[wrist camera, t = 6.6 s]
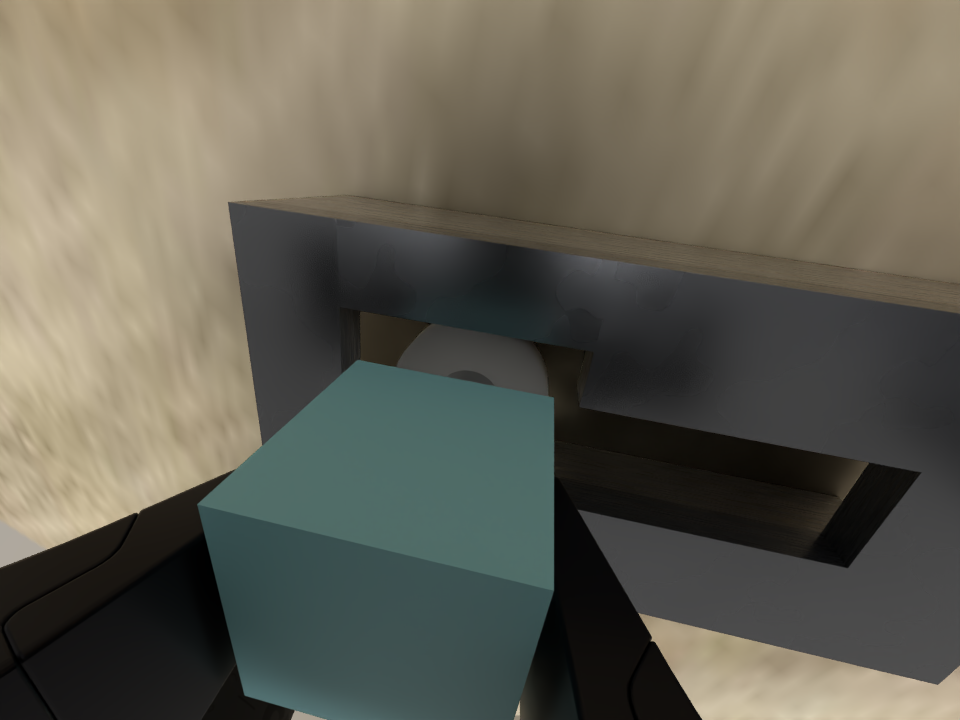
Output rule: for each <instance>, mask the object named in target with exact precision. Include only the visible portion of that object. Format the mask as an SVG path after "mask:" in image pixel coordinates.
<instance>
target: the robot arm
mask: <svg viewBox="0 0 960 720" xmlns="http://www.w3.org/2000/svg"><path fill="white" fill-rule="evenodd" d="M235 470H236V469H235ZM235 470H232V471H230V472H228V473H226V474H223V475H221V476H219V477H216V478H214V479H212V480H210V481H207V482H205V483H203V484H200V485H198V486H196V487H193V488H191V489H189V490H187V491H184V492H182V493H180V494H177V495H175V496H173V497H170V498H168V499H166V500H164V501H161V502H159V503H157V504H154V505H152V506H150V507H148V508H145V509H143V510H141V511H140V513H139V514H138V513H133V514H131V515H129V516H127V517H124V518H122V519H120V520H117V521H115V522H113V523H111V524H108V525H106V526H104V527H101V528H99V529H96V530H94V531H92V532H89V533H87V534H84V535H82V536H80V537H77V538H75V539H73V540H70V541H68V542H65V543H63V544H60V545H58V546H55V547H53V548H50V549H48V550H45V551H43V552H40V553H37V554H35V555H32V556H30V557H27V558H25V559H22V560H19V561H17V562H14V563H12V564H9V565H6V566H4V567H1V568H0V720H201V719H202V717H203V716H204V714H205V713H206V711H207V709H208V708H209V706H210V705H211V703H212V701H213V700H214V698H215V697H216V695H217V694H218V692H219V690H220V689H221V687H222V686H223V684H224V682H225V681H226V679H227V678H228V676H229V674H230V673H231V671H232V670H233V668H234V667H235V665H236V659H235V655H234V651H233V647H232V643H231V639H230V635H229V631H228V627H227V623H226V619H225V615H224V610H223V606H222V602H221V598H220V594H219V590H218V586H217V582H216V578H215V574H214V570H213V566H212V562H211V558H210V554H209V550H208V546H207V542H206V538H205V534H204V530H203V526H202V522H201V518H200V514H199V510H198V506H197V504H198V503H199V502H200V501H202V500H203V499H204V498H205V497H206V496H207V495H208V494H209V493H210V492H211V491H213V490H214V489H215V488H216V487H217V486H218V485H219V484H220V483H221V482H223V481H224V480H225V479H226V478H227V477H228V476H229V475H230V474H231V473H233V472H234V471H235ZM651 639H652V637H651V635H650V633H649V631H648V630H647V628H646V626H645V624H644V623H643V621H642V619H641V618H640V616H639V614H638V612H637V611H636V609H635V607H634V606H633V604H632V602H631V600H630V599H629V597H628V595H627V594H626V592H625V590H624V588H623V587H622V585H621V583H620V582H619V580H618V578H617V576H616V575H615V573H614V571H613V569H612V568H611V566H610V564H609V563H608V561H607V559H606V557H605V556H604V554H603V552H602V551H601V549H600V547H599V545H598V544H597V542H596V540H595V539H594V537H593V535H592V533H591V532H590V530H589V528H588V527H587V525H586V523H585V521H584V520H583V518H582V516H581V515H580V513H579V511H578V509H577V508H576V506H575V504H574V503H573V501H572V499H571V497H570V496H569V494H568V492H567V491H566V489H565V487H564V485H563V484H562V482H561V480H560V479H559V478H558V477H556V476H554V592H553V595H552V598H551V602H550V605H549V608H548V611H547V614H546V618H545V621H544V624H543V627H542V631H541V634H540V637H539V640H538V643H537V647H536V650H535V653H534V656H533V659H532V663H531V666H530V669H529V672H528V676H527V679H526V682H525V685H524V688H523V692H522V695H521V698H520V720H702V719H701V717H700V716H699V714H698V713H697V711H696V710H695V708H694V706H693V705H692V703H691V701H690V700H689V698H688V696H687V695H686V693H685V692H684V690H683V688H682V687H681V685H680V683H679V682H678V680H677V678H676V677H675V675H674V674H673V672H672V670H671V669H670V667H669V665H668V664H667V662H666V660H665V658H664V657H663V655H662V653H661V652H660V650H659V648H658V646H657V645H656V643H655V642H653V641H651Z"/></svg>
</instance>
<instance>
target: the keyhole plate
mask: <svg viewBox="0 0 960 720" xmlns="http://www.w3.org/2000/svg"><path fill="white" fill-rule="evenodd" d="M228 205H229V212H230V219H231V226H232V233H233V241H234V248H235V255H236V262H237V269H238V276H239V283H240V290H241V297H242V304H243V311H244V318H245V325H246V332H247V339H248V347H249V354H250V361H251V368H252V375H253V382H254V389H255V396H256V403H257V410H258V417H259V424H260V431H261V438H262V446H263V445H264V444H265V443H266V442H267V441H268V440H269V439H270V438H271V437H272V436H274V435H275V434H276V433H277V432H278V431H279V430H280V429H281V428H282V427H284V426H285V425H286V424H287V423H288V422H289V421H290V420H291V419H292V418H294V417H295V416H296V415H297V414H298V413H299V412H300V411H301V410H302V409H304V408H305V407H306V406H307V405H308V404H309V403H310V402H311V401H312V400H314V399H315V398H316V397H317V396H318V395H319V394H320V393H321V392H322V391H324V390H325V389H326V388H327V387H328V386H329V385H330V384H331V383H332V382H333V381H335V380H336V379H337V378H338V377H339V376H340V375H341V374H342V373H343V372H345V371H346V370H347V369H348V368H349V367H350V366H351V365H352V364H353V363H355V362H356V361H357V360H360V311H364V312H370V313H375V314H381V315H387V316H392V317H398V318H404V319H409V320H415V321H421V322H427V323H432V324H438V325H444V326H449V327H455V328H461V329H466V330H472V331H478V332H483V333H489V334H495V335H500V336H506V337H512V338H517V339H523V340H529V341H534V342H540V343H546V344H551V345H557V346H563V347H568V348H574V349H580V350H585V351H586V352H585V356H584V360H583V364H582V367H581V371H580V375H579V379H578V383H577V391H578V400H579V407H581V408H586V409H592V410H597V411H602V412H607V413H613V414H618V415H623V416H628V417H634V418H639V419H644V420H649V421H654V422H660V423H665V424H670V425H675V426H681V427H686V428H691V429H696V430H702V431H707V432H712V433H717V434H723V435H728V436H733V437H738V438H743V439H749V440H754V441H759V442H764V443H770V444H775V445H780V446H785V447H791V448H796V449H801V450H806V451H812V452H817V453H822V454H827V455H832V456H838V457H843V458H848V459H853V460H859V461H864V462H869V464H868V465H867V467H866V468H865V470H864V471H863V473H862V474H861V476H860V477H859V479H858V480H857V481H856V483H855V484H854V486H853V487H852V489H851V490H850V492H849V493H848V495H847V496H846V497H845V499H844V500H843V501H842V500H841V499H840V498H839V497H835V496H830V495H825V494H820V493H815V492H810V491H805V490H800V489H795V488H790V487H785V486H780V485H775V484H771V483H766V482H761V481H756V480H751V479H746V478H741V477H736V476H731V475H726V474H721V473H716V472H711V471H706V470H701V469H696V468H691V467H686V466H681V465H676V464H671V463H666V462H661V461H656V460H651V459H646V458H641V457H636V456H631V455H626V454H621V453H616V452H611V451H606V450H601V449H596V448H591V447H586V446H581V445H576V444H571V443H566V442H561V441H556V440H554V476H556V477H558V478H559V479H560V480H561V482H562V484H563V485H564V487H565V489H566V491H567V492H568V494H569V496H570V497H571V499H572V501H573V503H574V504H575V506H576V508H577V509H578V511H579V513H580V515H581V516H582V518H583V520H584V521H585V523H586V525H587V527H588V528H589V530H590V532H591V533H592V535H593V537H594V539H595V540H596V542H597V544H598V545H599V547H600V549H601V551H602V552H603V554H604V556H605V557H606V559H607V561H608V563H609V564H610V566H611V568H612V569H613V571H614V573H615V575H616V576H617V578H618V580H619V582H620V583H621V585H622V587H623V588H624V590H625V592H626V594H627V595H628V597H629V599H630V600H631V602H632V604H633V606H634V607H635V609H636V611H637V612H638V613H641V614H645V615H649V616H653V617H657V618H662V619H666V620H670V621H674V622H678V623H682V624H687V625H691V626H695V627H699V628H703V629H707V630H712V631H716V632H720V633H724V634H728V635H732V636H737V637H741V638H745V639H749V640H753V641H757V642H762V643H766V644H770V645H774V646H778V647H782V648H787V649H791V650H795V651H799V652H803V653H807V654H812V655H816V656H820V657H824V658H828V659H832V660H837V661H841V662H845V663H849V664H853V665H857V666H862V667H866V668H870V669H874V670H878V671H882V672H887V673H891V674H895V675H899V676H903V677H907V678H912V679H916V680H920V681H924V682H928V683H932V684H937V685H938V684H939V683H940V682H942V681H943V680H944V679H945V678H946V677H947V676H948V675H949V674H951V673H952V672H953V671H954V670H955V669H956V668H957V667H958V666H960V284H954V283H947V282H940V281H933V280H926V279H919V278H913V277H906V276H899V275H892V274H885V273H878V272H871V271H864V270H858V269H851V268H844V267H837V266H830V265H823V264H816V263H809V262H803V261H796V260H789V259H782V258H775V257H768V256H761V255H754V254H748V253H741V252H734V251H727V250H720V249H713V248H706V247H700V246H693V245H686V244H679V243H672V242H665V241H658V240H651V239H645V238H638V237H631V236H624V235H617V234H610V233H603V232H596V231H590V230H583V229H576V228H569V227H562V226H555V225H548V224H542V223H535V222H528V221H521V220H514V219H507V218H500V217H493V216H487V215H480V214H473V213H466V212H459V211H452V210H445V209H438V208H432V207H425V206H418V205H411V204H404V203H397V202H390V201H383V200H377V199H370V198H363V197H356V196H349V195H339V196H322V197H306V198H289V199H272V200H256V201H239V202H228Z"/></svg>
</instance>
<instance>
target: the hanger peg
mask: <svg viewBox="0 0 960 720" xmlns="http://www.w3.org/2000/svg"><path fill="white" fill-rule="evenodd" d="M197 506H198V510H199V514H200V518H201V522H202V526H203V530H204V534H205V538H206V542H207V546H208V550H209V554H210V558H211V562H212V566H213V570H214V574H215V578H216V582H217V586H218V590H219V594H220V598H221V602H222V606H223V610H224V615H225V619H226V623H227V627H228V631H229V635H230V639H231V643H232V647H233V651H234V655H235V659H236V663H237V667H238V671H239V675H240V679H241V683H242V687H243V691H244V695H245V696H248V697H252V698H255V699H258V700H262V701H265V702H269V703H272V704H275V705H279V706H282V707H286V708H289V709H293V710H296V711H300V712H303V713H306V714H310V715H313V716H317V717H320V718H323V719H327V720H514V717H515V714H516V711H517V708H518V704H519V701H520V698H521V695H522V692H523V688H524V685H525V682H526V679H527V676H528V672H529V669H530V666H531V663H532V659H533V656H534V653H535V650H536V647H537V643H538V640H539V637H540V634H541V631H542V627H543V624H544V621H545V618H546V614H547V611H548V608H549V605H550V602H551V598H552V595H553V592H554V397H549V396H548V373H547V369H546V366H545V362H544V360H543V358H542V356H541V354H540V352H539V350H538V349H537V347H536V346H535V344H534V343H533V342H532V341H529V340H523V339H517V338H512V337H506V336H500V335H495V334H489V333H483V332H478V331H472V330H466V329H461V328H455V327H449V326H444V325H438V324H431V325H429V326H428V327H426V328H425V329H424V330H423V331H422V332H421V333H420V334H419V335H418V336H417V337H416V338H415V340H414V341H413V342H412V343H411V344H410V345H409V346H408V348H407V349H406V350H405V351H404V352H403V354H402V356H401V357H400V359H399V361H398V363H397V366H396V367H392V366H387V365H382V364H376V363H371V362H366V361H361V360H357V361H356V362H355V363H353V364H352V365H351V366H350V367H349V368H348V369H347V370H346V371H345V372H343V373H342V374H341V375H340V376H339V377H338V378H337V379H336V380H335V381H333V382H332V383H331V384H330V385H329V386H328V387H327V388H326V389H325V390H324V391H322V392H321V393H320V394H319V395H318V396H317V397H316V398H315V399H314V400H312V401H311V402H310V403H309V404H308V405H307V406H306V407H305V408H304V409H302V410H301V411H300V412H299V413H298V414H297V415H296V416H295V417H294V418H292V419H291V420H290V421H289V422H288V423H287V424H286V425H285V426H284V427H282V428H281V429H280V430H279V431H278V432H277V433H276V434H275V435H274V436H272V437H271V438H270V439H269V440H268V441H267V442H266V443H265V444H264V445H263V446H261V447H260V448H259V449H258V450H257V451H256V452H255V453H254V454H253V455H251V456H250V457H249V458H248V459H247V460H246V461H245V462H244V463H243V464H241V465H240V466H239V467H238V468H237V469H236V470H235V471H234V472H233V473H231V474H230V475H229V476H228V477H227V478H226V479H225V480H224V481H223V482H221V483H220V484H219V485H218V486H217V487H216V488H215V489H214V490H213V491H211V492H210V493H209V494H208V495H207V496H206V497H205V498H204V499H203V500H202V501H200V502H199V503H198V504H197Z"/></svg>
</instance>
